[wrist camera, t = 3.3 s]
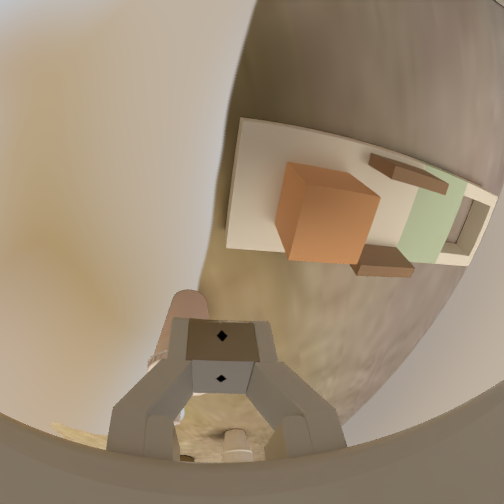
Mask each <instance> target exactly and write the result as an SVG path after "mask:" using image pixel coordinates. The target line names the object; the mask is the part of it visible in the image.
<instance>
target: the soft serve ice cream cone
mask: <svg viewBox="0 0 504 504" xmlns="http://www.w3.org/2000/svg"><path fill="white" fill-rule="evenodd" d="M221 455H222V463H231V462H254V460H253V456H252V450H251V449H250V446H249V443H248V440H247V437H246V434H245V432H244V431H243V430H240V429H232V430H228V431H226V432H225V437H224V444H223V450H222V453H221Z"/></svg>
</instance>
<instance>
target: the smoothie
mask: <svg viewBox="0 0 504 504" xmlns="http://www.w3.org/2000/svg"><path fill="white" fill-rule="evenodd" d="M173 317H180V318H189V319H190V318H195V319H207V320H209V315H208V309H207V302H206V299H205V297H204V296H203V295H202V294H201V293H199V292H197V291H194V290H182V291H180V292H178V293H176V294H175V296H174V297H173V300H172V303H171V306H170V308H169V311H168V314H167V317H166V320H165V323H164V326H163V329H162V332H161V335H160V338H159V341H158V344H157V346H156V350H155V353H154V355H153V356H151V358H150V359H149V361H148V369H147V373H148V372H149V371H150V370H151V369H152V368H153V367H154V366H155V365H156V364H157V363H158V362H159V361H160V360H161V359H162V358H164V359H167V353H168V345H169V338H170V330H171V323H172V319H173ZM202 394H206V393H193V395H192V396H195V395H202ZM180 414H181V412H180V413H179V415H178V416H177V417H176V419H175V420H174V421H173V422H174V424H180Z"/></svg>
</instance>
